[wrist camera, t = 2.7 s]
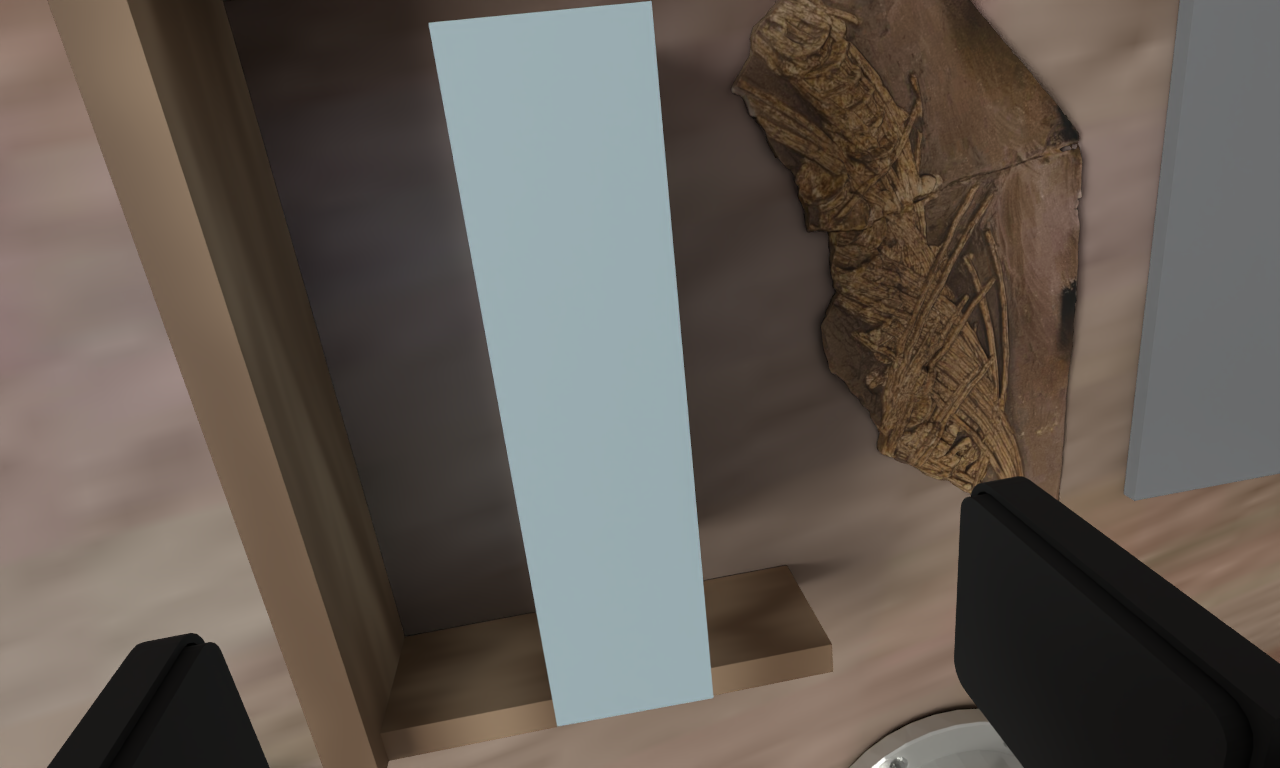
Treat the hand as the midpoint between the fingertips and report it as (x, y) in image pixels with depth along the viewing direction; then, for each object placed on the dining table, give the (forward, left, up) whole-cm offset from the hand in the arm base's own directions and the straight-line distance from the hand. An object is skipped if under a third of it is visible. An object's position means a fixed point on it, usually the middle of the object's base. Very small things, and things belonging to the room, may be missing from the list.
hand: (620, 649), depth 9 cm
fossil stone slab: (-14, +1, -18) cm, 23 cm away
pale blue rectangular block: (0, +1, -18) cm, 18 cm away
